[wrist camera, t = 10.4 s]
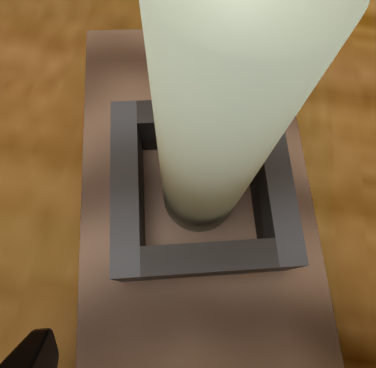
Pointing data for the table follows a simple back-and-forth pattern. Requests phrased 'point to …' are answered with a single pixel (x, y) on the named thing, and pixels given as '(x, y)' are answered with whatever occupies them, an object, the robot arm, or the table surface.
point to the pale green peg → (231, 89)
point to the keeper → (190, 246)
